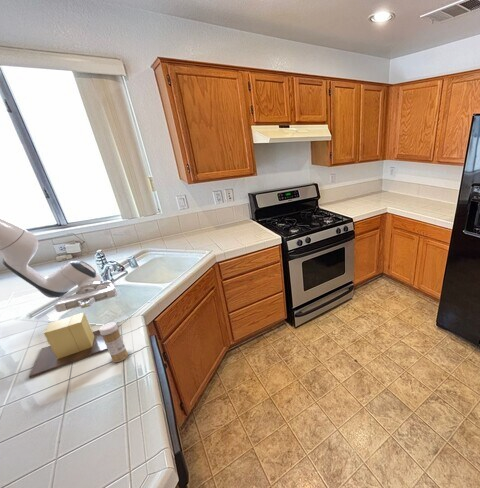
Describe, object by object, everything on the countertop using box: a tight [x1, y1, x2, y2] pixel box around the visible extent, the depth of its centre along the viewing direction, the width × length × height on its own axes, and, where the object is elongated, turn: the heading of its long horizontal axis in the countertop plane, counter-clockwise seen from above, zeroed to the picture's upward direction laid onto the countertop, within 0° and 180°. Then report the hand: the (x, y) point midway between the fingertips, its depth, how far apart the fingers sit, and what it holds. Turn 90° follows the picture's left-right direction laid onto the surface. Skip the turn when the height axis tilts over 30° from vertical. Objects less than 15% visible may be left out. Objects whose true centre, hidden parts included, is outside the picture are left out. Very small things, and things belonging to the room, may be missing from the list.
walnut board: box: [28, 329, 108, 379], centre depth 96 cm, size 22×16×1 cm
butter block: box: [43, 315, 80, 359], centre depth 93 cm, size 6×7×11 cm
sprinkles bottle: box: [98, 321, 129, 363], centre depth 88 cm, size 5×5×14 cm
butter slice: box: [68, 311, 94, 351], centre depth 96 cm, size 3×8×11 cm, turn 35°
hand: (85, 305), depth 107 cm, fingers closed
